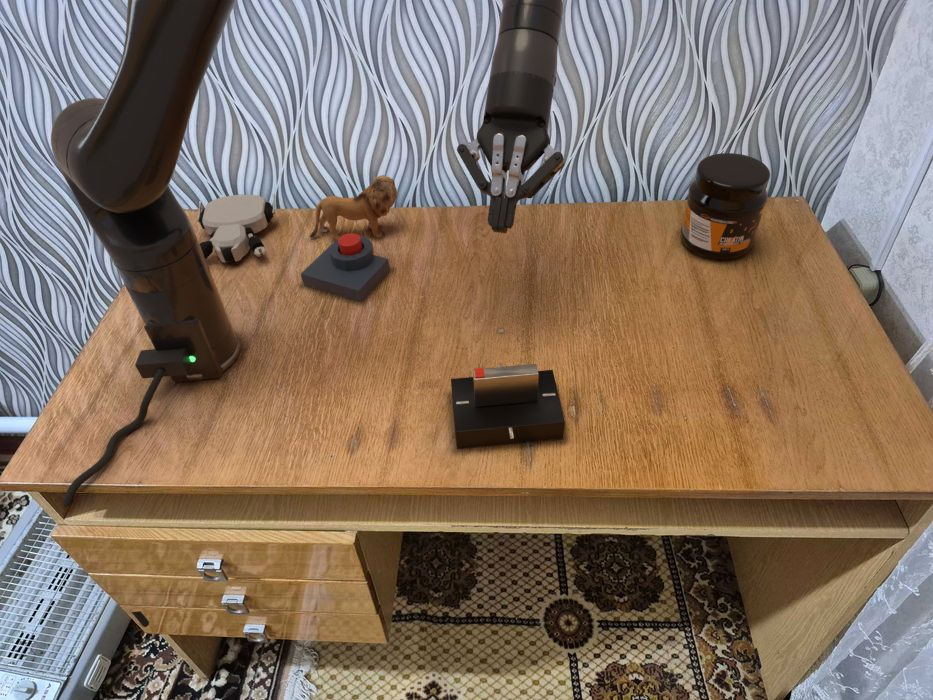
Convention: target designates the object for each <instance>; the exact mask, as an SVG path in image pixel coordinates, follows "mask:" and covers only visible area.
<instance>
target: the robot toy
mask: <svg viewBox="0 0 933 700" xmlns="http://www.w3.org/2000/svg"><path fill="white" fill-rule="evenodd" d="M202 204H203V203H202V201H201V200H199V201H198V215H197V218H196V221H197V223H199V224H200V227H201V229H202V230H205V232H206V233H207V234H208V235H209V236H210V237H209V239H208V240H206V241H205V240H204V241H201V242H199V245H200V247H201V250H202V252H203V255H204V257H205V260H207V259H208V258H209V257H210V256H211V255H212V254H213V252H214V251H215V254H216V256H217V257H218V258H219V260H220V262H221V263H224V264H226V263H231V262H233V261H235V263H236V262H239V261H241V260H242V259H243V257H246V256H247V254H248V253H249V251H250V250H251V251H252V252H253V254H254V255H255V256H256V257H262V255H263V256H265V255H266V254H267V248H266V247H265V245H264V243H263V242H262V240H261V239H260V238H259V236H258V235H257V236H256V235H255V234H257V233H260V232H261V231H263V230H264V229H266V228H268V225H269V224H270V223H271V222H272V220H273V218H274V216H275V215H276V211H277V210H276V194H275V192H273V194H272V204H271V202H270V201H269V202H268V201H267V199H266V198H265V197H263V196H260V195H256V194H233V195H227V196H223V197H218V198H215V199H213V200H211V201H210V202H208V203H206V204H205V207H204V208H202ZM272 205H273V206H272Z"/></svg>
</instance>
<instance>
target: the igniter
mask: <svg viewBox="0 0 933 700" xmlns="http://www.w3.org/2000/svg"><path fill="white" fill-rule="evenodd" d="M359 236H360V238H361V244H362V251H361V252H360V253H357V254H355V255H348V256H346V255H343V254H342V253H341V252H340V247H339V243H338V240H339V239H338V240H337V241H336V240H335V241H334V242H333V243H331V244H330V245H328V247H327V248H326V249H325V250H324V251H323V252H322V253H320V255H318V256H317V257H316V258H315V260H313V261H312V262H311V263H310V264H309V265H308V266H307V267H306V268H305V269H304V270H303V271H302V272H301V273H300V277H301V280H302V285H303V286H305V287H308V288H312V289H315V290H319V291H322V292H326V293H328V294H332V295H334V296H335V295H336V296H339V297H342V298H346V299H349V300H352V301H356V302H358V303H362V302H363V301H364V300H365V299H366V298H367V297H368V296H369V294H370V293H372V291H373V290H374V289H375V288H376V287H377V286H378V284H380V282H381V281H382V280H383V279H384V278H385V277H386V276H387V275H388V274H389V273H390V271H391V267H390V260H389V258H387V257H384V256H379V255H375V251H374V245H373V242H372V241H371V240H370V239H369V238H368V237H366V236H362V235H359Z"/></svg>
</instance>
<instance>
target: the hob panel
mask: <svg viewBox="0 0 933 700" xmlns="http://www.w3.org/2000/svg"><path fill="white" fill-rule="evenodd" d="M498 367H503V363H498ZM538 373H539V377H538V401H536V402H525V403H514V404H503V405H492V406H481V407H476V406H475V398H474V384H473V376H468V377H467V376H465V377H457V378H456V377H455V378H451V379H450V385H451V387H450V388H451V398H452V411H453V412H452V413H453V424H454V435H455V436H454V437H455V446H456V449H457V450H458V449H470V448H480V447H490V446H491V447H493V446H502V445H503V446H504V445H513V444H515V445H516V444H523V443H534V442H544V441H555V440H556V441H557V440H558V441H559V440H564V438H565V427H566V420H565V416H564V412H563V407H562V403H561V400H560V395H559V390H558V386H557V382H556V377H555V374H554V369H545V370H544V369H543V370H538Z"/></svg>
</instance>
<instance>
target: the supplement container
mask: <svg viewBox="0 0 933 700" xmlns="http://www.w3.org/2000/svg"><path fill="white" fill-rule="evenodd" d="M694 175H695V176H694V179H693V180H692V181H691V182H690V184H689V187H688V192H687V193H688V196H687V200H686V205H685V209H684V215H683V221H682V224H681V227H680V238H681V239H680V240H681V241H682V243H683V244H684V246H685V247H686V248H687V249H688V250H690V251H691V252H693V253H694V254H696V255H698V256H701V257H704V258H708V259H711V260H731V259H732V260H733V259H736V258H739V257H741V256H744V255H745V254H747V253H748V252H750V250H751V249H752V247H753V246H754V243H755V240H756V236H757V232H758V229H759V226H760V222H761V220H762V216H763V212H764V208H765V206H766V204H767V202H768V198H769V195H768V194H769V193H768V190H767V188H768V185H769V183H770V179H771V171H770V169H769V167H768V166H767V165H766V164H765V163H764V162H763V161H761V160H759V159H757V158H755V157H752V156H750V155H746V154H743V153H734V152H723V153H722V152H721V153H715V154H711V155H708V156H706V157H704V158H703V159H701V160H700V161H699V162H698V164H697V167H696V171H695V174H694Z"/></svg>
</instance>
